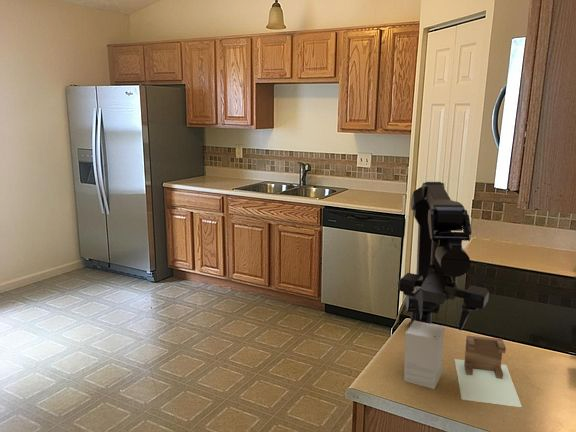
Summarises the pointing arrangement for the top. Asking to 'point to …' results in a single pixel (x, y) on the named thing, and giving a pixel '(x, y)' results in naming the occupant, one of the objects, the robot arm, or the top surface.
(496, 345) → the footstool
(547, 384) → the top surface
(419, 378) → the supplement box
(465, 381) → the mat
